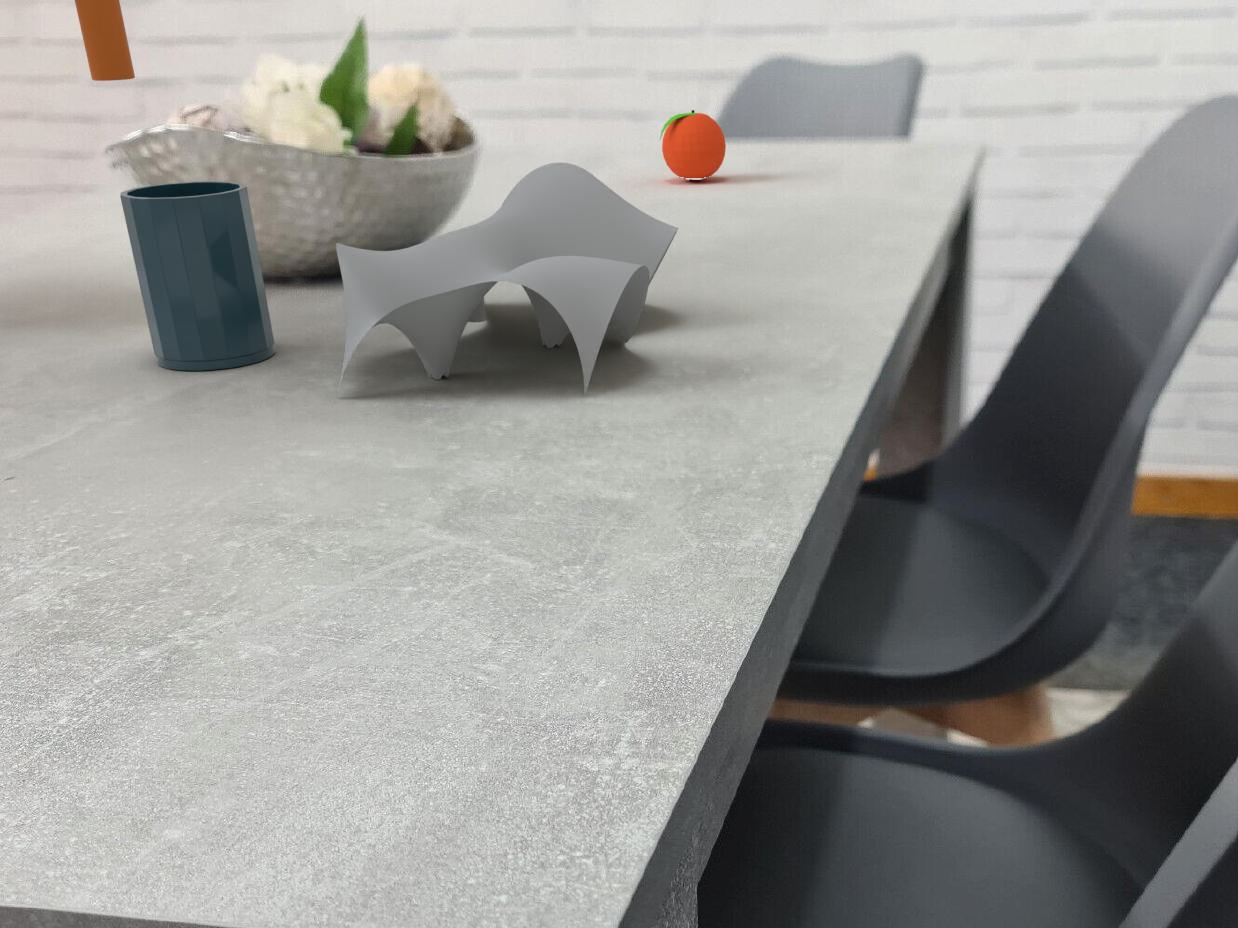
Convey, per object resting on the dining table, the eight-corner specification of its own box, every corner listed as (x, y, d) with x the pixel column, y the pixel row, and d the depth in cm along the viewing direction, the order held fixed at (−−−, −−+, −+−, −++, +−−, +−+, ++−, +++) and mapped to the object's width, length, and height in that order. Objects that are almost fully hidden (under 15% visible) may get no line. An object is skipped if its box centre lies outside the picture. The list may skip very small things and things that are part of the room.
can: (157, 376, 87) (119, 202, 82) (156, 350, 93) (120, 186, 88) (279, 363, 89) (249, 192, 85) (271, 338, 95) (242, 178, 90)
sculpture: (647, 397, 81) (638, 214, 76) (317, 398, 82) (288, 218, 77) (690, 302, 103) (684, 156, 98) (429, 304, 104) (411, 159, 99)
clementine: (681, 188, 152) (678, 115, 149) (642, 182, 157) (639, 111, 154) (739, 180, 157) (738, 109, 153) (700, 174, 161) (698, 105, 158)
